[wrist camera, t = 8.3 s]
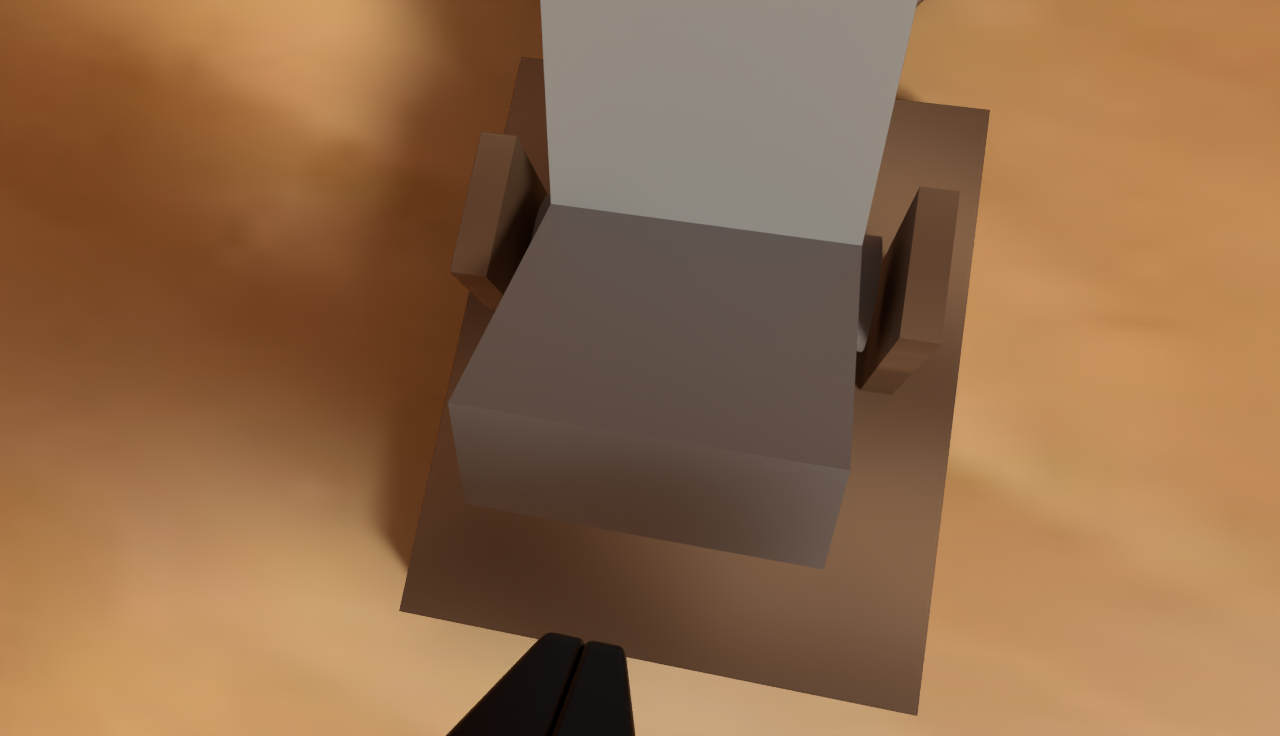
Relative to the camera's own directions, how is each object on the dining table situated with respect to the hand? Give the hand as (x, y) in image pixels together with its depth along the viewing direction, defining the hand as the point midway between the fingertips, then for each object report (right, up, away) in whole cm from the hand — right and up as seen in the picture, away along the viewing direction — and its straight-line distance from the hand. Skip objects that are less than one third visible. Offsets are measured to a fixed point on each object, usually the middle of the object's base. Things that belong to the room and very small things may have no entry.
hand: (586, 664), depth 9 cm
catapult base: (+2, +3, +11) cm, 11 cm away
